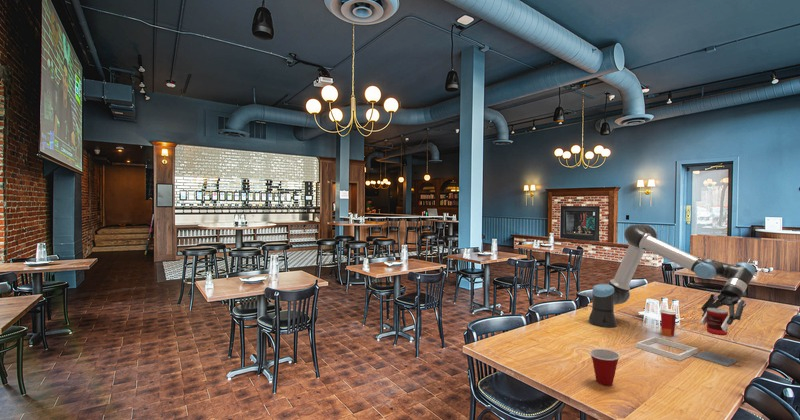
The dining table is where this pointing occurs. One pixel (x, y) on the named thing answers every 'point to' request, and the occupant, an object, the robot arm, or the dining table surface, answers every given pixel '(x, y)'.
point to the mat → (716, 358)
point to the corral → (688, 351)
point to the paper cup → (668, 321)
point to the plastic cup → (604, 365)
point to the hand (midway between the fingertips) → (712, 326)
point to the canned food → (716, 321)
